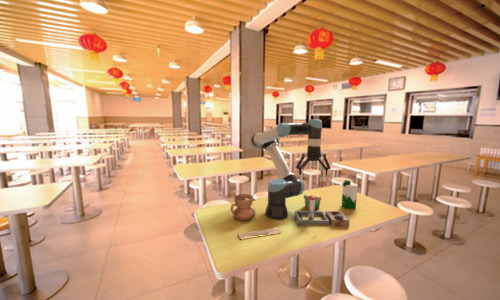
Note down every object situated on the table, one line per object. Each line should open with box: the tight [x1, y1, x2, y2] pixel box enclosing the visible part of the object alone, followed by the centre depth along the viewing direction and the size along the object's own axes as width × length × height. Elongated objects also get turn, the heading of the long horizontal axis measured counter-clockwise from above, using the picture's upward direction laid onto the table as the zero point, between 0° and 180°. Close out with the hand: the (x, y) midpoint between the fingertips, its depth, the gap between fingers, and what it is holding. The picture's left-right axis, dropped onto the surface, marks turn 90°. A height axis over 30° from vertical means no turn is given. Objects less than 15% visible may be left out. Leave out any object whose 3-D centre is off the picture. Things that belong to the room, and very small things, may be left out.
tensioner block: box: [324, 210, 350, 228], centre depth 128 cm, size 10×12×7 cm
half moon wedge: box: [303, 193, 322, 211], centre depth 146 cm, size 12×6×10 cm, turn 62°
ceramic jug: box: [230, 193, 256, 222], centre depth 135 cm, size 18×14×14 cm
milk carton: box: [341, 179, 359, 210], centre depth 150 cm, size 9×9×20 cm
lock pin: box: [307, 195, 316, 220], centre depth 130 cm, size 4×4×16 cm
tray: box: [294, 210, 330, 227], centre depth 131 cm, size 18×13×4 cm
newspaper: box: [237, 227, 282, 239], centre depth 116 cm, size 24×7×2 cm, turn 106°
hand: (312, 180), depth 128 cm, fingers open, 13 cm apart
